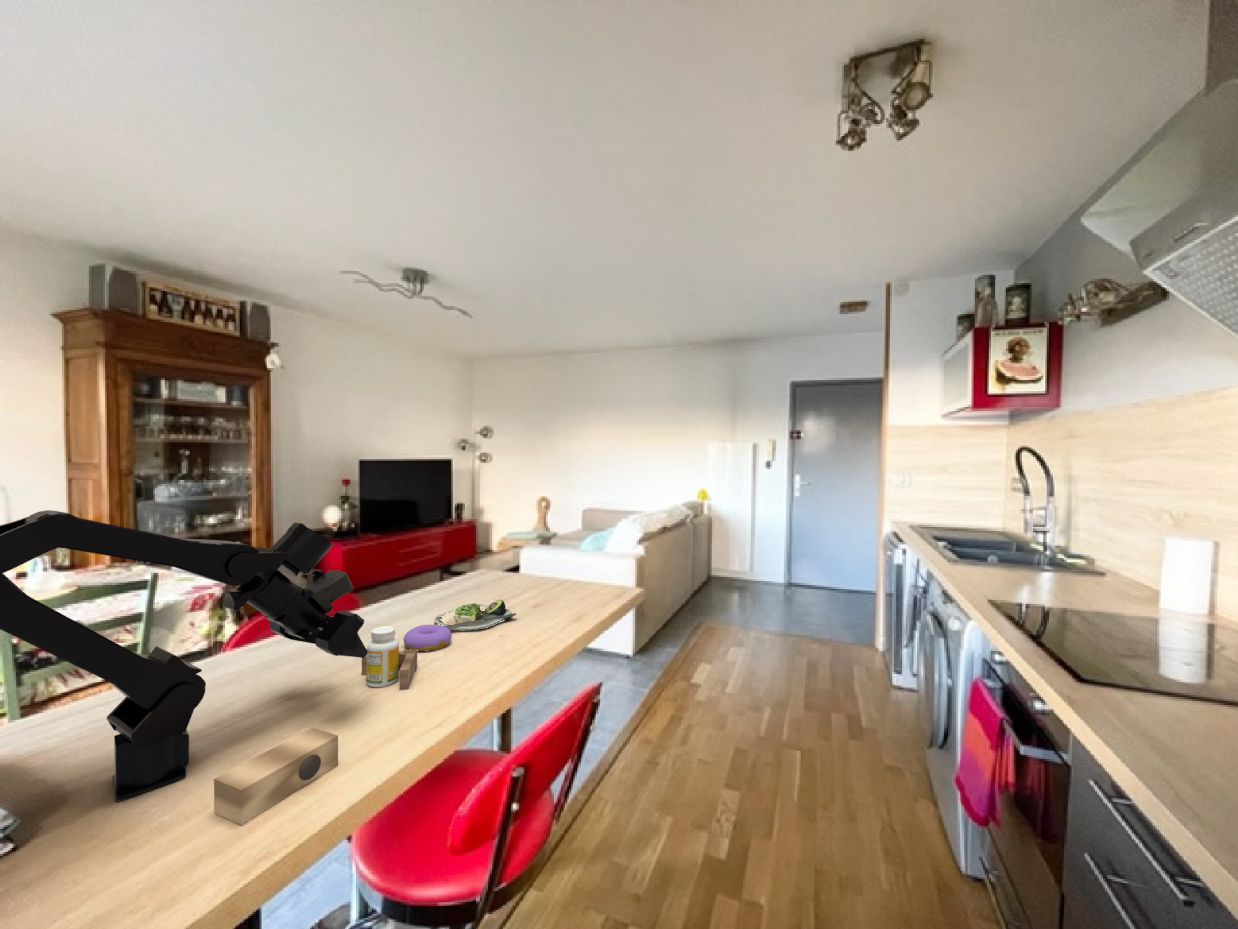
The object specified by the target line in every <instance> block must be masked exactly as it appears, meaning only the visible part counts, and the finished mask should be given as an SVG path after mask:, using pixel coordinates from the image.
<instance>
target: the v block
mask: <svg viewBox="0 0 1238 929" xmlns="http://www.w3.org/2000/svg"><path fill="white" fill-rule="evenodd" d="M417 668H418V651H417V649H414V650H410V649H405V650H399V664H398V671H400V672H399V690H400V691H403V690H409V688H410V686H411V684H412V680H413V677H414V674H415V673H416V671H417ZM366 671H367V655H366V656H365V657H364V658H361V676H366Z"/></svg>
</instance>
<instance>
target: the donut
mask: <svg viewBox="0 0 1238 929" xmlns="http://www.w3.org/2000/svg"><path fill="white" fill-rule="evenodd" d="M451 639H452V632H451V630H449V629H448V628H447V627H445V626H441V625H437V624H422V625H417V626H415V627H413V628H411V629H410V630H408V631H407V632H406V633H405V634H404V637H403V639H402V640H403V644H404V646H405V647H406V649H407V650H410V649H411V650H414V649H417V650H418V651H425V650H433V651H436V650H435V649H437V650H439V649H438V648H440V649H442V648H444V647H446V646H447V645H448V644H450V641H451ZM441 647H442V648H441ZM418 651H417V652H418ZM425 652H426V651H425Z"/></svg>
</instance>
